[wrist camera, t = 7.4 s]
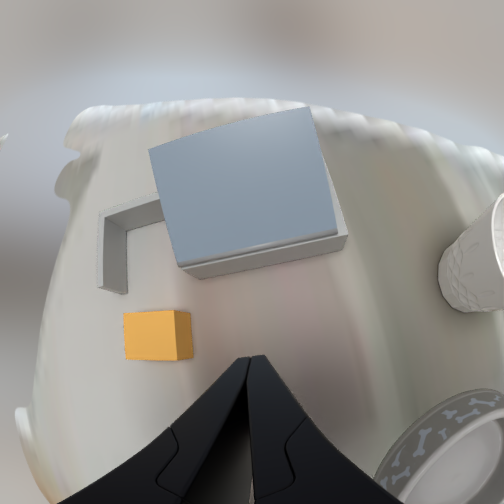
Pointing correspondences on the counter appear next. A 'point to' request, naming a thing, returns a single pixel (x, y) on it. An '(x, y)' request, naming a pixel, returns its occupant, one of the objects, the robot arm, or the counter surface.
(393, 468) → the dog bowl
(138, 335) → the mustard yellow box
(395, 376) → the counter surface
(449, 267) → the white cup
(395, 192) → the counter surface
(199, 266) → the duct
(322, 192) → the panel
